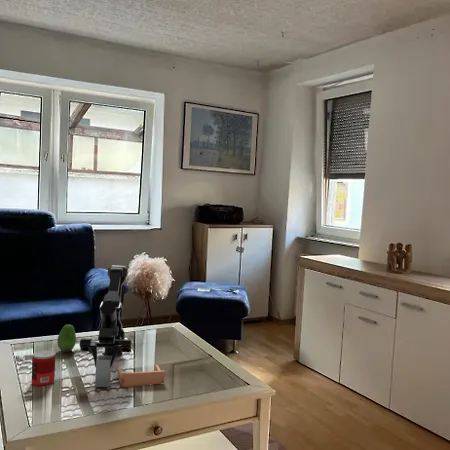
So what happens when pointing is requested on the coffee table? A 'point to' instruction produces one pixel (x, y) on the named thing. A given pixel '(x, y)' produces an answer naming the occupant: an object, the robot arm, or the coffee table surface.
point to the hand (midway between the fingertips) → (103, 367)
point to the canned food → (43, 368)
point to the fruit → (67, 338)
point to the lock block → (103, 371)
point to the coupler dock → (140, 377)
